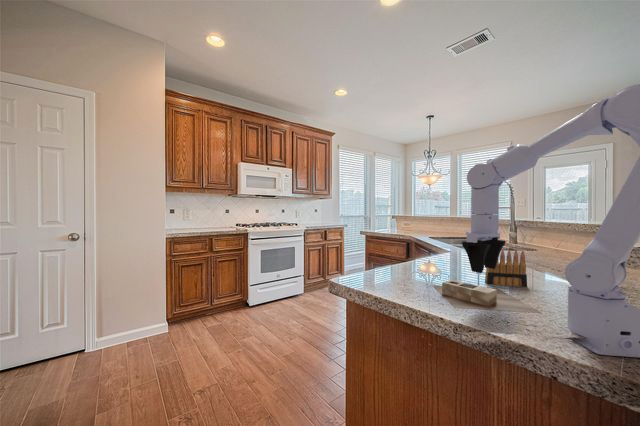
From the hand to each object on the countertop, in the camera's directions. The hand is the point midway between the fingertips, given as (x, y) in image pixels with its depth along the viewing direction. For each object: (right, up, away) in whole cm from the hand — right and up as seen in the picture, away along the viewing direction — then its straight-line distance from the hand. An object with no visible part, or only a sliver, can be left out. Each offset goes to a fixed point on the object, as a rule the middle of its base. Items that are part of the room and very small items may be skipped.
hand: (483, 270), depth 63 cm
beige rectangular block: (-2, -8, +3) cm, 9 cm away
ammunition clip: (+16, -10, +15) cm, 24 cm away
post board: (+1, -9, +4) cm, 10 cm away
